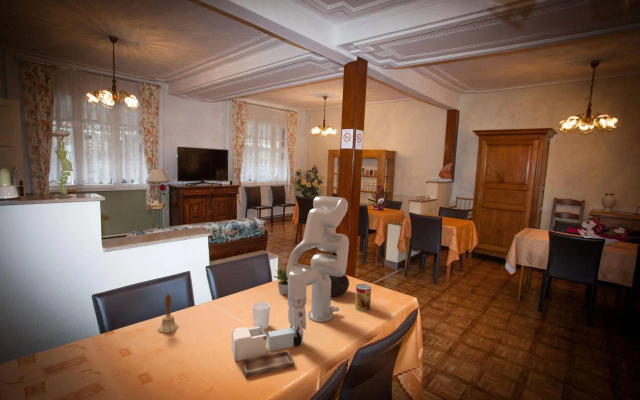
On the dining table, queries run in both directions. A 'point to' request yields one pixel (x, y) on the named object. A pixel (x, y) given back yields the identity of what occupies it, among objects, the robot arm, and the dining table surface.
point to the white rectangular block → (281, 339)
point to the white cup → (261, 314)
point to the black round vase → (338, 283)
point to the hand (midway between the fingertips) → (295, 341)
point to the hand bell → (168, 318)
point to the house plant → (282, 282)
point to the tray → (267, 363)
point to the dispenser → (248, 342)
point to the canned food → (363, 297)
